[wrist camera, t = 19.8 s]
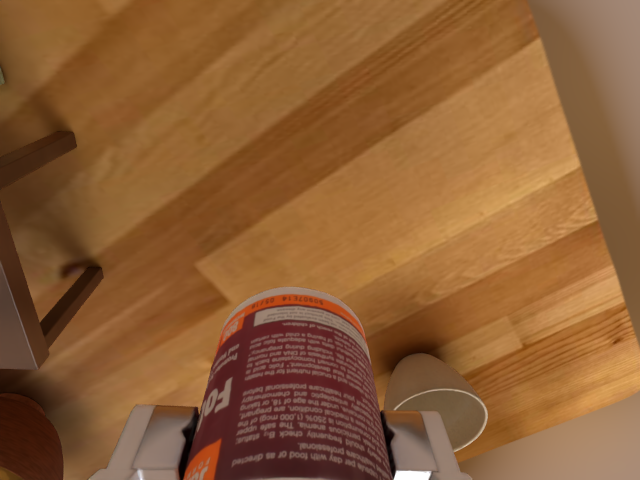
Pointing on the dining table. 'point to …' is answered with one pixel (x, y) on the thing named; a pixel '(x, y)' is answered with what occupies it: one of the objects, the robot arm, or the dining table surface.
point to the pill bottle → (290, 395)
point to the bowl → (27, 441)
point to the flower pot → (437, 396)
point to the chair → (1, 77)
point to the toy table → (8, 278)
